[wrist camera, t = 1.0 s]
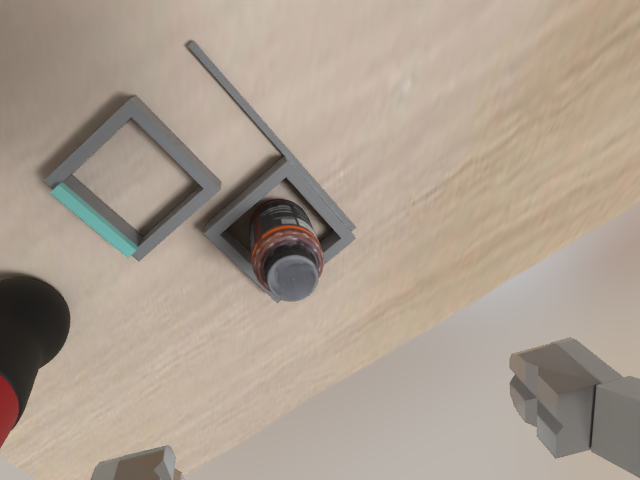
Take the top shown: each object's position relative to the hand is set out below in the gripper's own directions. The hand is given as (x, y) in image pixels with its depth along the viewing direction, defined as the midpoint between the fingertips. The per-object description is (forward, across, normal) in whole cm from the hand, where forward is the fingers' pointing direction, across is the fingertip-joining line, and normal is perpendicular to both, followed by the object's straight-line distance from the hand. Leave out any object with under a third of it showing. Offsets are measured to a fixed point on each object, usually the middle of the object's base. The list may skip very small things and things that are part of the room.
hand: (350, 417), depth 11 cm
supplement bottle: (+35, 0, +8) cm, 35 cm away
